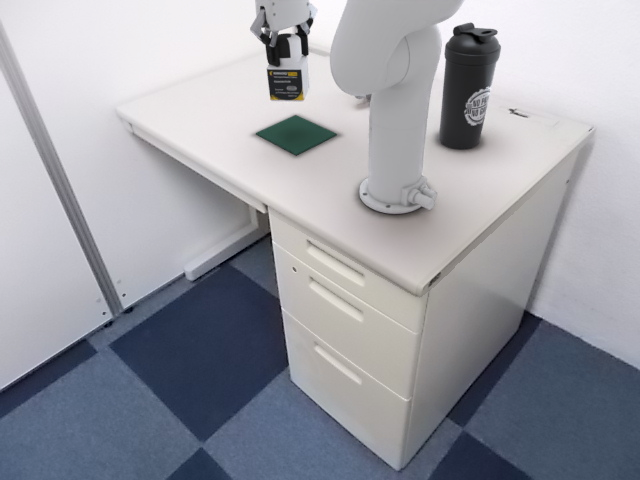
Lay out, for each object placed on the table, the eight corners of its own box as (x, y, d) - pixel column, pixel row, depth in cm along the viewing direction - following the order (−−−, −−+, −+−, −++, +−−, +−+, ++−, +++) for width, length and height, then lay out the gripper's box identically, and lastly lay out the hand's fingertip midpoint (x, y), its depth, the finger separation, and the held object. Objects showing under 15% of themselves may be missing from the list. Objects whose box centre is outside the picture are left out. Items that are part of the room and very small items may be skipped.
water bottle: (458, 156, 100) (476, 41, 85) (424, 137, 107) (435, 27, 92) (494, 142, 104) (516, 28, 89) (459, 124, 111) (475, 16, 96)
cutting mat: (336, 135, 110) (336, 133, 109) (296, 155, 104) (296, 154, 103) (295, 116, 118) (295, 114, 117) (255, 134, 112) (255, 132, 111)
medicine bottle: (270, 101, 102) (262, 42, 94) (277, 87, 108) (271, 30, 100) (303, 102, 101) (299, 42, 93) (309, 88, 106) (306, 30, 99)
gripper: (302, -51, 95) (307, 44, 106) (227, -34, 86) (243, 67, 98) (329, -46, 91) (332, 51, 102) (253, -28, 82) (266, 77, 93)
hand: (288, 58), depth 100 cm, fingers closed on medicine bottle, 6 cm apart
